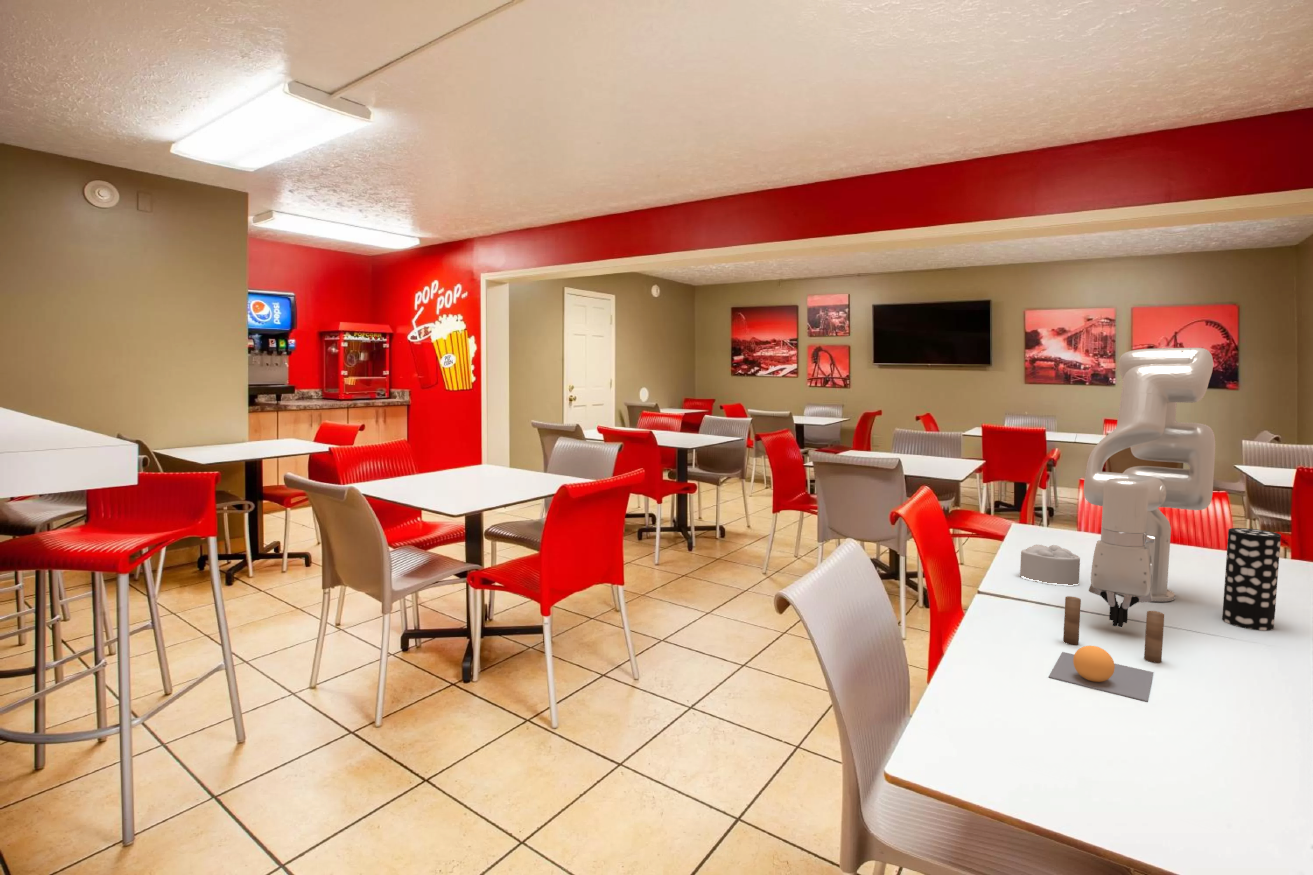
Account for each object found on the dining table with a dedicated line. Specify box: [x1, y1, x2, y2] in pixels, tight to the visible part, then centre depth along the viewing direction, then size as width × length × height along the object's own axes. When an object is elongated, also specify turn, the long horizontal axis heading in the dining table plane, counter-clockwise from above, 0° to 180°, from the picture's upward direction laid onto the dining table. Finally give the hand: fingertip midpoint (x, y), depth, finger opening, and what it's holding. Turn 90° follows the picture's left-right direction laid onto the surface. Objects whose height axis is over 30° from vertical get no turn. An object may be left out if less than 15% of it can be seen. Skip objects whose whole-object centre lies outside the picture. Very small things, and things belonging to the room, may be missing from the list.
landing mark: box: [1048, 651, 1154, 703], centre depth 117 cm, size 14×14×1 cm
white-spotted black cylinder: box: [1221, 527, 1282, 631], centre depth 141 cm, size 8×8×20 cm
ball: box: [1073, 645, 1115, 682], centre depth 114 cm, size 6×6×6 cm
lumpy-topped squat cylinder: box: [1019, 544, 1081, 585], centre depth 174 cm, size 10×13×9 cm
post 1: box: [1062, 595, 1082, 646], centre depth 131 cm, size 3×3×9 cm
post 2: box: [1143, 610, 1165, 664], centre depth 123 cm, size 3×3×9 cm
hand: (1117, 624), depth 137 cm, fingers closed
